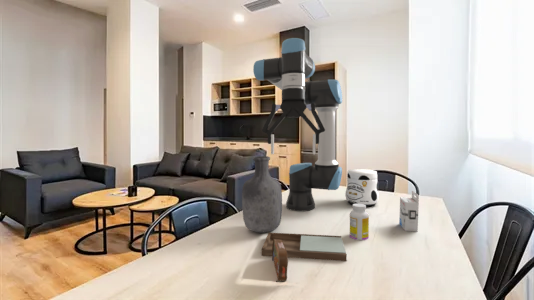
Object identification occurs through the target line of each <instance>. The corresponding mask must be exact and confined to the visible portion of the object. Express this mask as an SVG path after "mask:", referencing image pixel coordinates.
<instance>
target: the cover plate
mask: <svg viewBox="0 0 534 300" xmlns="http://www.w3.org/2000/svg"><path fill="white" fill-rule="evenodd" d="M300 251H314V252H331V253H346V254H347V252H346V248H345V245H344V241H343V238H342V236H341V237H322V236H302V235H301V243H300Z"/></svg>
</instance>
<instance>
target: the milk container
mask: <svg viewBox="0 0 534 300" xmlns="http://www.w3.org/2000/svg"><path fill="white" fill-rule="evenodd" d="M346 175H347V176H346V177H347V178H346V179H347V181H346V183H347V184H346V190H345V193H344V194H345V200H346V201H347V203H349V204H351V205H353V204H364V205H366V207H368V206H369V207H370V206H375V205H376V204H378V202H379V198H380V193H379V190H378V171H376V170H372V169H361V168H359V169H357V168H356V169H348V170H347V174H346Z"/></svg>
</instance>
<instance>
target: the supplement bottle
mask: <svg viewBox="0 0 534 300" xmlns="http://www.w3.org/2000/svg"><path fill="white" fill-rule="evenodd" d="M366 209H367V206H366V205H364V204H352V210H351V211H350V212H349V238H351V239H353V240H355V241H356V240H357V241H366V240H368V239H369V236H370V235H369V234H370V233H369V232H370V231H369V230H370V227H369V226H370V225H369V224H370V223H369V221H370V220H369V219H370V218H369V217H370V215H369V213H368V212H367V211H366Z"/></svg>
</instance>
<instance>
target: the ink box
mask: <svg viewBox="0 0 534 300" xmlns="http://www.w3.org/2000/svg"><path fill="white" fill-rule="evenodd" d="M419 197H420V196H419V194H418V193H417V192H415V191H413V190H411V197H405V196H404V197H403V196H402V197H399V198H400V199H399V222H398V224H399V225H400V227H402V229H403V231H404V232H405V231H406V232H418V231H419V230H418V229H419V207H420V206H419V201H420V199H419Z"/></svg>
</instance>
